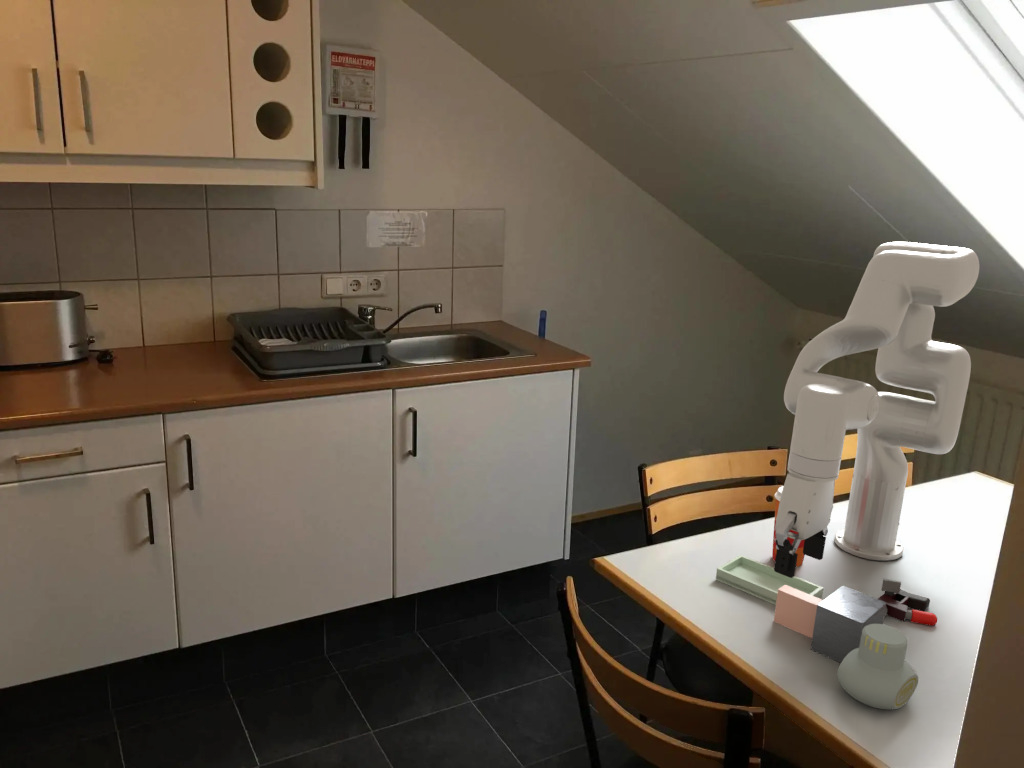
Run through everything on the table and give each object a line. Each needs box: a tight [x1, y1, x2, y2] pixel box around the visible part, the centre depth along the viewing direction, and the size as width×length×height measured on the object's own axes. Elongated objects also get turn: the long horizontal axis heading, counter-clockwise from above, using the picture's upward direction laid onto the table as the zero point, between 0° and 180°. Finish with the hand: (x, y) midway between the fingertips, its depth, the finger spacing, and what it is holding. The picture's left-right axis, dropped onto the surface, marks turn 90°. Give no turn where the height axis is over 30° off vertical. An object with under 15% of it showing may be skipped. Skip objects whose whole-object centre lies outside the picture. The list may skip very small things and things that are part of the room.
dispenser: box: [810, 585, 887, 664], centre depth 131 cm, size 9×8×8 cm
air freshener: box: [836, 623, 919, 710], centre depth 119 cm, size 11×8×10 cm
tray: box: [715, 554, 824, 606], centre depth 149 cm, size 8×16×2 cm, turn 45°
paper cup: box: [771, 485, 806, 568], centre depth 158 cm, size 8×8×14 cm
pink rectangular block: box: [773, 585, 824, 639], centre depth 135 cm, size 2×11×6 cm, turn 45°
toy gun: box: [877, 578, 938, 627], centre depth 141 cm, size 10×12×5 cm
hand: (798, 565), depth 134 cm, fingers open, 9 cm apart
